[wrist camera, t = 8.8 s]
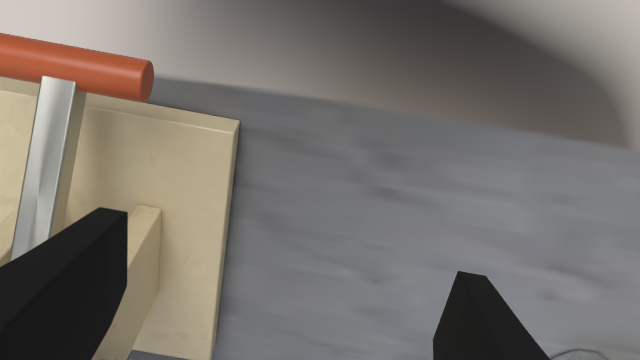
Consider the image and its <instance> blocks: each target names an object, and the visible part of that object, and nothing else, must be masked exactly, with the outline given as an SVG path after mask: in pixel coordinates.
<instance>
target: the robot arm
mask: <svg viewBox="0 0 640 360" xmlns="http://www.w3.org/2000/svg"><path fill="white" fill-rule="evenodd" d="M127 258H128V212H126V211H120V210H114V209H109V208H103V207H99V208H97V209H95V210H94V211H92V212H90V213H89V214H87V215H85V216H84V217H82V218H81V219H79V220H78V221H76V222H75V223H73V224H71V225H70V226H68V227H67V228H65V229H63V230H62V231H60V232H59V233H57V234H56V235H54V236H52V237H51V238H49V239H48V240H46V241H44V242H43V243H41V244H39V245H38V246H36V247H34V248H33V249H31V250H30V251H28V252H26V253H25V254H23V255H21V256H19V257H17V258H16V259H14V260H12V261H10V262H8V263H6V264H5V265H3V266H1V267H0V360H92V358H93V356H94V354H95V353H96V351H97V349H98V347H99V346H100V344H101V342H102V340H103V339H104V337H105V335H106V333H107V332H108V330H109V328H110V326H111V324H112V322H113V319H114V317H115V315H116V312H117V310H118V308H119V305H120V303H121V300H122V298H123V295H124V293H125V290H126V288H127ZM433 360H550V359H549V357H548V356H547V355H546V354H545V353H544V351H543V350H542V349H541V348H540V347H539V345H538V344H537V343H536V342H535V340H534V339H533V338H532V337H531V335H530V334H529V333H528V331H527V330H526V329H525V328H524V326H523V325H522V324H521V322H520V321H519V320H518V318H517V317H516V316H515V314H514V313H513V312H512V310H511V309H510V308H509V306H508V305H507V304H506V302H505V301H504V300H503V298H502V297H501V295H500V294H499V293H498V291H497V290H496V289H495V287H494V286H493V285H492V283H491V282H490V281H489V280H488V278H487V277H486V276H483V275H477V274H472V273H466V272H461V271H458V272H457V275H456V278H455V281H454V283H453V286H452V289H451V292H450V294H449V297H448V300H447V303H446V305H445V308H444V311H443V314H442V316H441V319H440V322H439V325H438V327H437V330H436V333H435V335H434V338H433Z"/></svg>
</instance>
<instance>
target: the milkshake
mask: <svg viewBox="0 0 640 360" xmlns="http://www.w3.org/2000/svg"><path fill="white" fill-rule="evenodd" d="M552 360H606V359H604V358H603V357H602V356H601V355H600V354H598V353H596V352H587V351H578V350H574V351H571V352H568V353H565V354H562V355H559V356H556V357H554V358H553V359H552Z"/></svg>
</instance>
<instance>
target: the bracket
mask: <svg viewBox="0 0 640 360" xmlns="http://www.w3.org/2000/svg"><path fill="white" fill-rule="evenodd" d="M39 87H40V84H37V83H32V82H26V81H21V80H15V79H10V78H4V77H0V267H1V266H3V265H5V264H6V263H8V262H9V260H10V254H11V248H12V242H13V237H14V231H15V225H16V219H17V214H18V208H19V202H20V196H21V191H22V185H23V179H24V173H25V168H26V162H27V156H28V150H29V145H30V139H31V133H32V127H33V122H34V116H35V110H36V104H37V99H38V93H39ZM239 126H240V121H239V120H234V119H229V118H223V117H218V116H212V115H207V114H201V113H196V112H190V111H185V110H180V109H174V108H169V107H163V106H158V105H152V104H147V103H140V102H135V101H129V100H124V99H119V98H113V97H108V96H102V95H97V94H91V93H87V95H86V101H85V107H84V112H83V118H82V124H81V129H80V135H79V141H78V147H77V152H76V158H75V164H74V169H73V175H72V181H71V187H70V192H69V198H68V204H67V209H66V215H65V221H64V227H63V229H65V228H67V227H68V226H70V225H71V224H73V223H75V222H76V221H78V220H79V219H81V218H82V217H84V216H85V215H87V214H89V213H90V212H92V211H94V210H95V209H97V208H99V207H103V208H109V209H114V210H120V211H126V212H128V258H127V288H126V290H125V293H124V295H123V298H122V300H121V303H120V305H119V308H118V310H117V312H116V315H115V317H114V319H113V322H112V324H111V326H110V328H109V330H108V332H107V333H106V335H105V337H104V339H103V340H102V342H101V344H100V346H99V347H98V349H97V351H96V353H95V354H94V356H93V358H92V360H127V358H128V356H129V354H130V352H131V350H137V351H143V352H149V353H154V354H160V355H166V356H172V357H177V358H183V359H189V360H211V357H212V354H213V350H214V347H215V342H216V333H217V324H218V315H219V306H220V297H221V288H222V279H223V270H224V261H225V252H226V243H227V234H228V225H229V216H230V207H231V198H232V189H233V180H234V171H235V162H236V153H237V144H238V135H239Z"/></svg>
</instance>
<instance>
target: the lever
mask: <svg viewBox="0 0 640 360" xmlns="http://www.w3.org/2000/svg"><path fill="white" fill-rule="evenodd" d="M0 77H4V78H10V79H15V80H21V81H26V82H32V83H37V84H40V87H39V93H38V99H37V104H36V110H35V116H34V122H33V127H32V133H31V139H30V145H29V150H28V156H27V162H26V168H25V173H24V179H23V185H22V191H21V196H20V202H19V208H18V214H17V219H16V225H15V231H14V237H13V242H12V248H11V254H10V260H9V262H10V261H12V260H14V259H16V258H17V257H19V256H21V255H23V254H25V253H26V252H28V251H30V250H31V249H33V248H34V247H36V246H38V245H39V244H41V243H43V242H44V241H46V240H48V239H49V238H51V237H52V236H54V235H56V234H57V233H59V232H60V231H62V230H63V227H64V221H65V215H66V209H67V204H68V198H69V192H70V187H71V181H72V175H73V169H74V164H75V158H76V152H77V147H78V141H79V135H80V129H81V124H82V118H83V112H84V107H85V101H86V95H87V93H91V94H97V95H102V96H108V97H113V98H119V99H124V100H129V101H135V102H140V103H144V102H146V101H147V100H148V98H149V96H150V94H151V90H152V86H153V79H154V70H153V65H152V63H151V62H150V61H148V60H143V59H137V58H133V57H127V56H122V55H116V54H111V53H106V52H100V51H95V50H90V49H84V48H79V47H73V46H68V45H63V44H57V43H52V42H46V41H41V40H36V39H30V38H24V37H19V36H14V35H9V34H3V33H0Z"/></svg>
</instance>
